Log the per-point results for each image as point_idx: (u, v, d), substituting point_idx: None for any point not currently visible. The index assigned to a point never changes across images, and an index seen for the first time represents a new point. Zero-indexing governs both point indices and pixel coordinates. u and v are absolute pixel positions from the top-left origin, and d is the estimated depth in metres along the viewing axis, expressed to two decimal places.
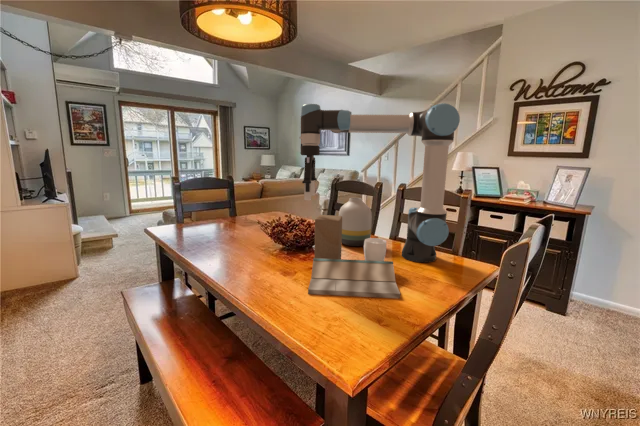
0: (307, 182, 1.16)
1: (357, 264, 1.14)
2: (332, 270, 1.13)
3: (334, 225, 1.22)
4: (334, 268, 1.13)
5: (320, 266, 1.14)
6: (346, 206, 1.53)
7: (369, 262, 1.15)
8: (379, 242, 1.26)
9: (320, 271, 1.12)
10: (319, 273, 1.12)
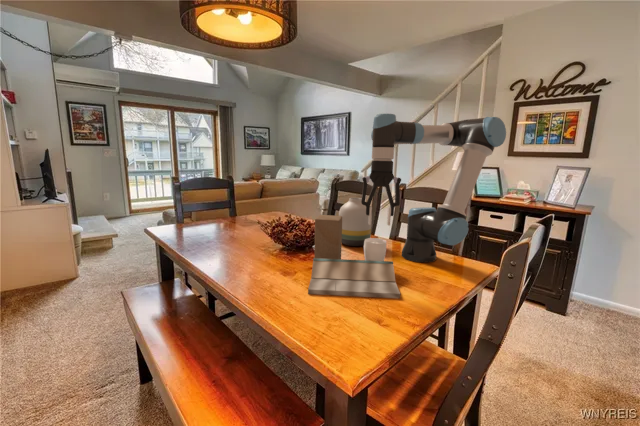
0: (363, 204, 1.10)
1: (357, 264, 1.14)
2: (332, 270, 1.13)
3: (334, 225, 1.22)
4: (334, 268, 1.13)
5: (320, 266, 1.14)
6: (346, 206, 1.53)
7: (369, 262, 1.15)
8: (379, 242, 1.26)
9: (320, 271, 1.12)
10: (319, 273, 1.12)
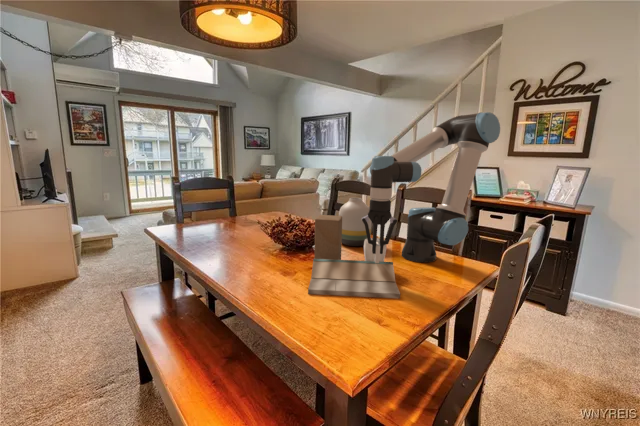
0: None
1: (357, 264, 1.14)
2: (332, 270, 1.13)
3: (334, 225, 1.22)
4: (334, 268, 1.13)
5: (320, 266, 1.14)
6: (346, 206, 1.53)
7: (369, 262, 1.15)
8: None
9: (320, 271, 1.12)
10: (319, 273, 1.12)
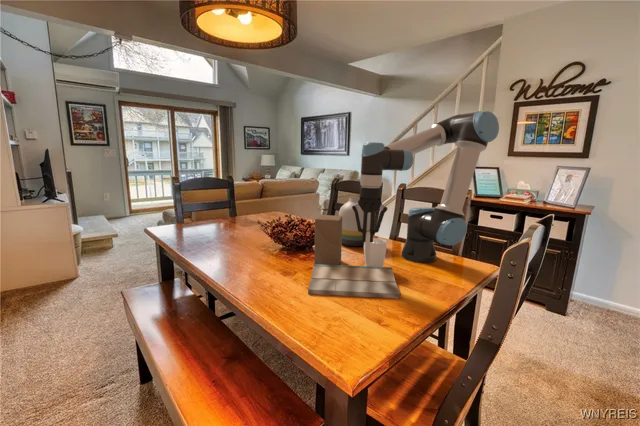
0: (360, 231, 1.12)
1: (357, 269, 1.16)
2: (332, 273, 1.13)
3: (334, 225, 1.22)
4: (334, 271, 1.14)
5: (320, 269, 1.15)
6: (346, 206, 1.53)
7: (369, 267, 1.16)
8: (379, 242, 1.26)
9: (320, 273, 1.13)
10: (319, 275, 1.12)
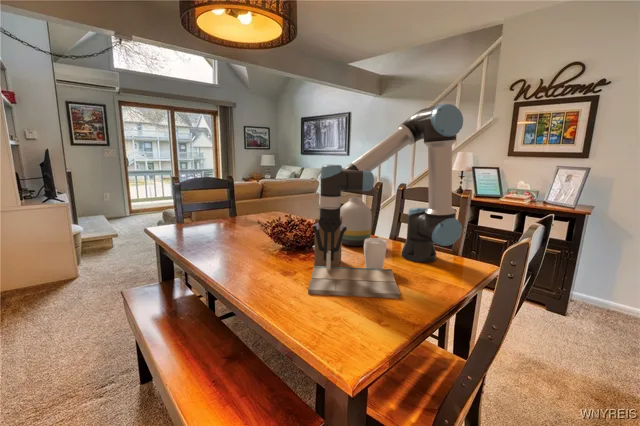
0: None
1: (357, 270, 1.16)
2: (332, 273, 1.13)
3: None
4: (334, 272, 1.14)
5: (320, 271, 1.15)
6: (346, 206, 1.53)
7: (368, 269, 1.17)
8: (379, 242, 1.26)
9: (320, 274, 1.13)
10: (319, 275, 1.12)
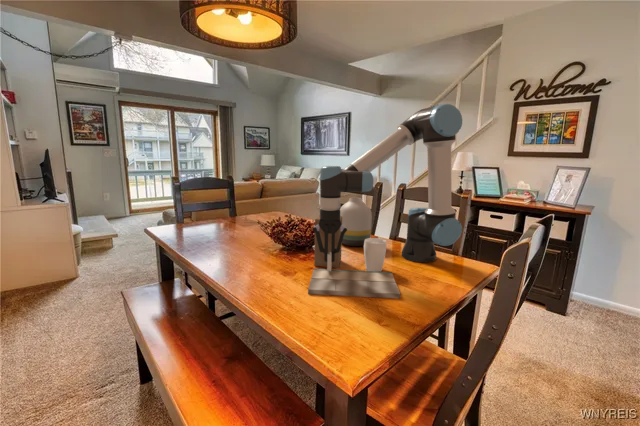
0: None
1: (357, 272, 1.16)
2: (332, 275, 1.14)
3: None
4: (334, 274, 1.14)
5: (320, 272, 1.15)
6: (346, 206, 1.53)
7: (368, 272, 1.17)
8: (379, 242, 1.26)
9: (320, 275, 1.13)
10: (319, 276, 1.12)
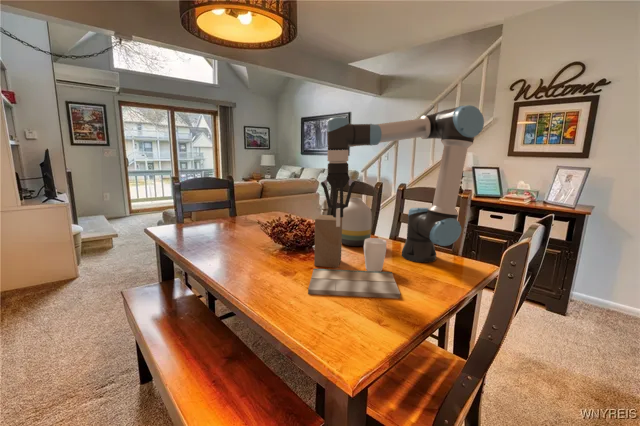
0: (330, 207, 1.14)
1: (357, 272, 1.16)
2: (332, 275, 1.14)
3: (334, 225, 1.22)
4: (334, 274, 1.14)
5: (320, 272, 1.15)
6: None
7: (368, 272, 1.17)
8: (379, 242, 1.26)
9: (320, 275, 1.13)
10: (319, 276, 1.12)
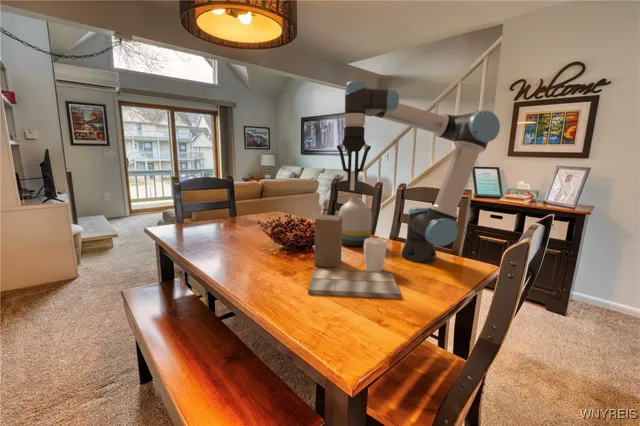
0: None
1: (357, 272, 1.16)
2: (332, 275, 1.14)
3: (334, 225, 1.22)
4: (334, 274, 1.14)
5: (320, 272, 1.15)
6: (346, 206, 1.53)
7: (368, 272, 1.17)
8: (379, 242, 1.26)
9: (320, 275, 1.13)
10: (319, 276, 1.12)
